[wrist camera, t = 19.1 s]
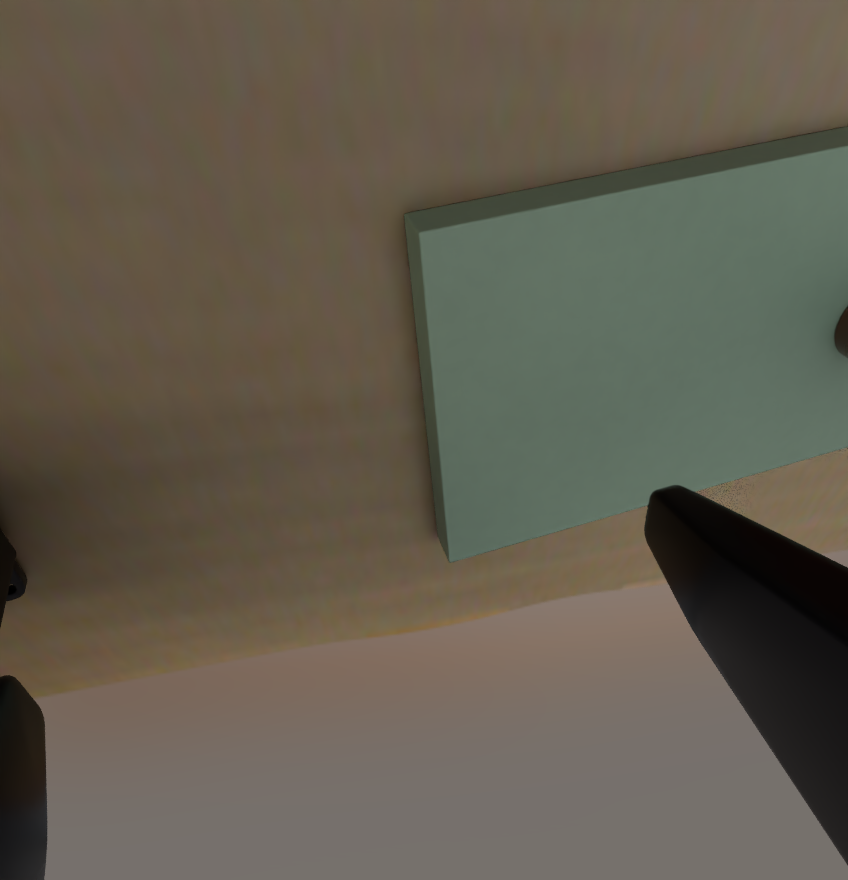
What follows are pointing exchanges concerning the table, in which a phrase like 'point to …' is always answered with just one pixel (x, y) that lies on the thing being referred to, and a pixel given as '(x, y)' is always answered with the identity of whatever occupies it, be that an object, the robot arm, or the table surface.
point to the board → (630, 336)
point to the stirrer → (842, 334)
